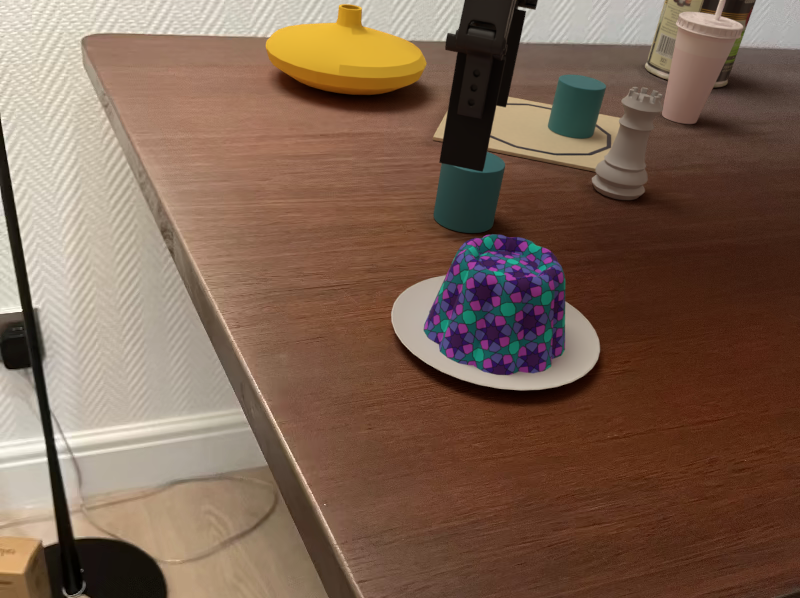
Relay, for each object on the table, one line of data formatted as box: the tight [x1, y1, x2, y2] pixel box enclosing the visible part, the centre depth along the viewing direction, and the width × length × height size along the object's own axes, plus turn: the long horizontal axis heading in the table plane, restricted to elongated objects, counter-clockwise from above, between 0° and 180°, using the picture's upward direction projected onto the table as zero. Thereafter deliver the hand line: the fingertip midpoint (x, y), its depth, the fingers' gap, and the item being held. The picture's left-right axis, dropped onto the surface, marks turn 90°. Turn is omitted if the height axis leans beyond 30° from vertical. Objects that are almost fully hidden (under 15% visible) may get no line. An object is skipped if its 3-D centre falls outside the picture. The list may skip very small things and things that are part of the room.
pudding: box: [390, 233, 601, 391], centre depth 45 cm, size 12×12×5 cm
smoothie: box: [661, 0, 743, 125], centre depth 81 cm, size 6×6×14 cm
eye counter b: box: [548, 74, 607, 139], centre depth 76 cm, size 4×4×4 cm
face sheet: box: [432, 96, 622, 173], centre depth 77 cm, size 18×16×1 cm
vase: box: [265, 3, 428, 96], centre depth 79 cm, size 16×16×7 cm
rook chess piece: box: [591, 86, 663, 201], centre depth 65 cm, size 4×4×8 cm
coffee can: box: [644, 0, 757, 89], centre depth 96 cm, size 10×10×14 cm
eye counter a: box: [433, 151, 506, 234], centre depth 57 cm, size 4×4×4 cm
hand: (476, 131), depth 55 cm, fingers open, 13 cm apart
